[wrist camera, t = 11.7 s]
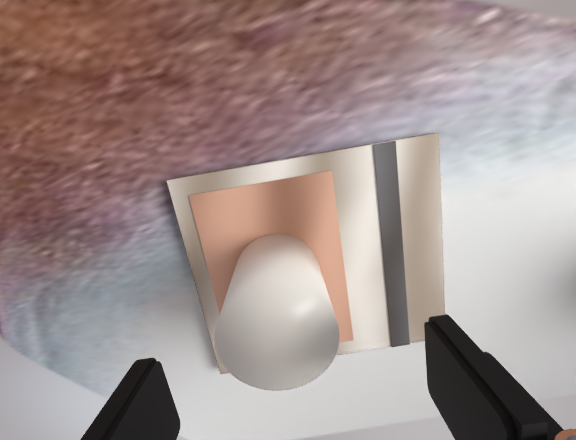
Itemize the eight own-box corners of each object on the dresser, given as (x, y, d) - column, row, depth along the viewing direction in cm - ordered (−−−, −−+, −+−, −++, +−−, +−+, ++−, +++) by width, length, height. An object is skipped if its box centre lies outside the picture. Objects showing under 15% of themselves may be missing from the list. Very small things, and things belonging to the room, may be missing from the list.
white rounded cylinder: (312, 226, 17) (330, 273, 11) (324, 302, 18) (346, 379, 12) (227, 241, 17) (200, 296, 11) (245, 316, 18) (230, 399, 13)
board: (431, 133, 17) (440, 133, 16) (439, 329, 20) (446, 338, 19) (171, 178, 17) (166, 180, 16) (222, 365, 20) (220, 375, 19)
